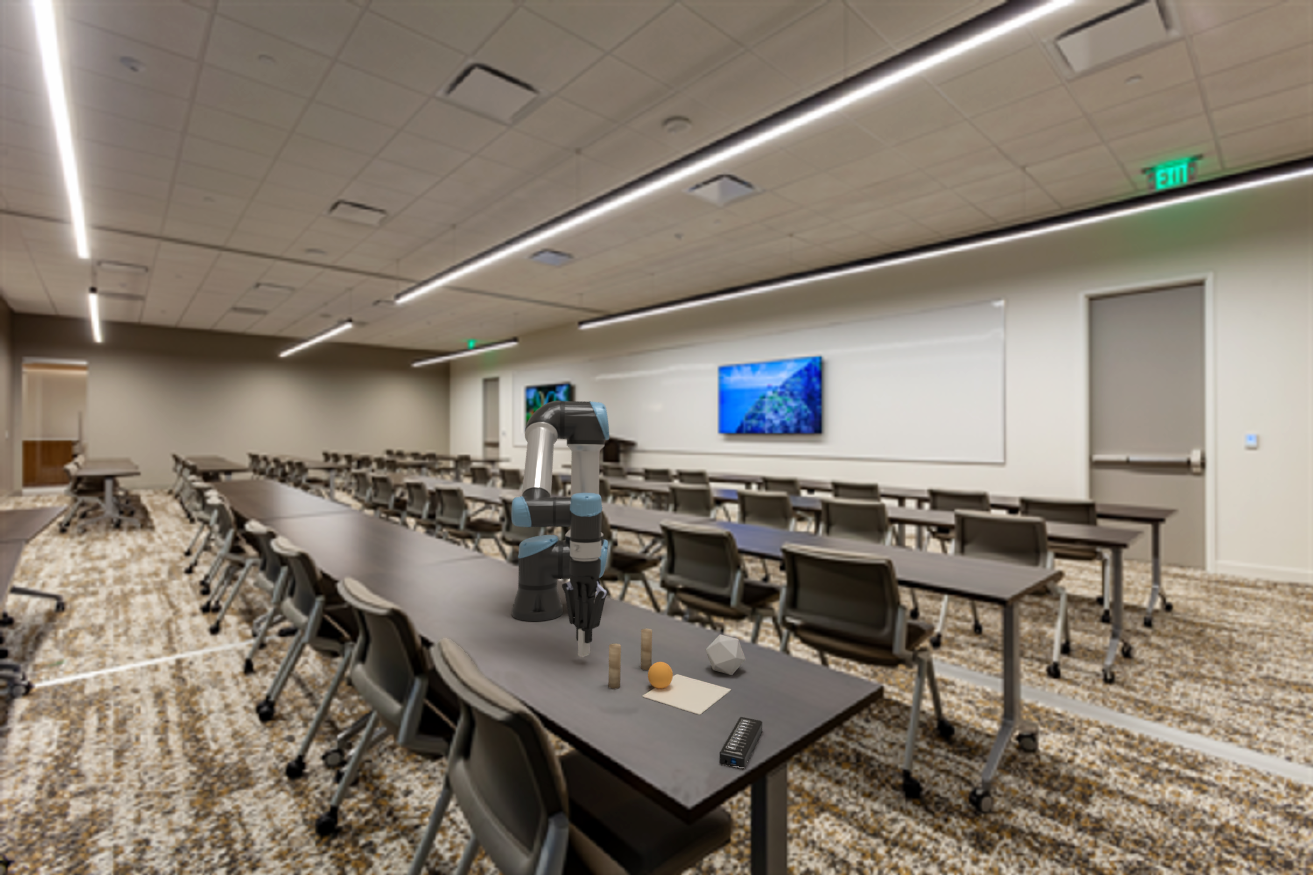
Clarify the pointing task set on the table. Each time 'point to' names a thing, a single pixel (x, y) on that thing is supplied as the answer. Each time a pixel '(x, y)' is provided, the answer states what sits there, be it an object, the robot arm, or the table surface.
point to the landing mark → (688, 694)
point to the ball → (660, 675)
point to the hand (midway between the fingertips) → (583, 654)
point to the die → (725, 654)
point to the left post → (614, 665)
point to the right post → (646, 649)
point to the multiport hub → (741, 742)
